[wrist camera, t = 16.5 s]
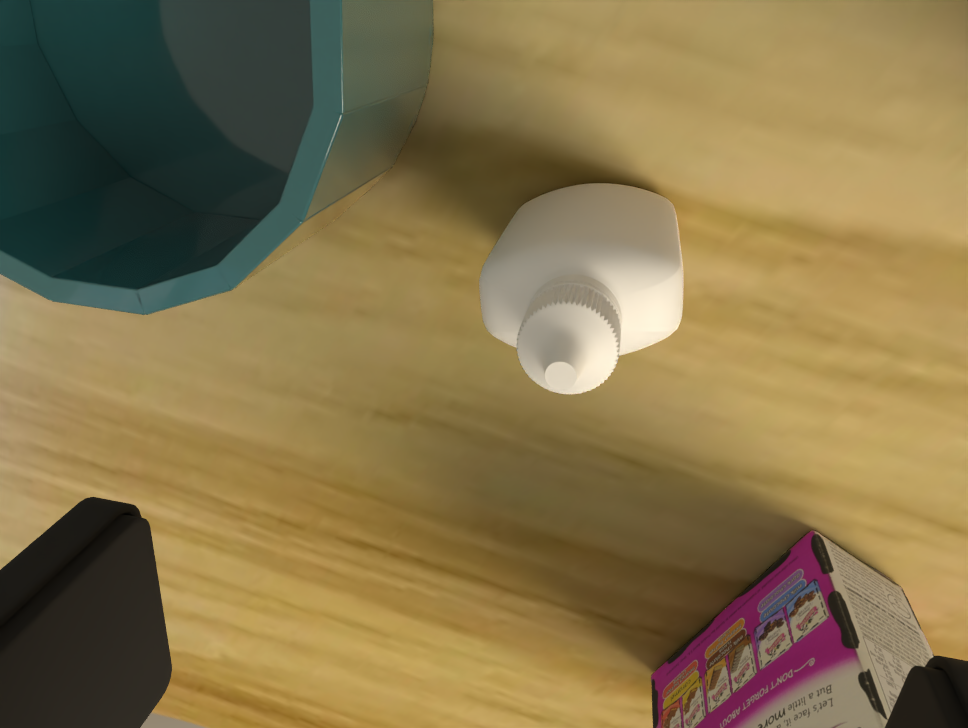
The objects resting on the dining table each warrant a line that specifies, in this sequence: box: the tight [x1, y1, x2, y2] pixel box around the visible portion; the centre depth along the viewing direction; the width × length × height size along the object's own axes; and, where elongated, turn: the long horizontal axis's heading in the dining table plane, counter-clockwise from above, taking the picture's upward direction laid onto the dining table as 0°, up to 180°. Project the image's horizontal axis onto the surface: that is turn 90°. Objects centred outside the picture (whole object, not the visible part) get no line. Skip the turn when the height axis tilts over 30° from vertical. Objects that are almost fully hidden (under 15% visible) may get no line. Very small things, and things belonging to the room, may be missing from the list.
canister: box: [0, 0, 434, 315], centre depth 22 cm, size 16×16×8 cm
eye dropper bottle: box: [479, 183, 683, 395], centre depth 21 cm, size 4×6×12 cm
